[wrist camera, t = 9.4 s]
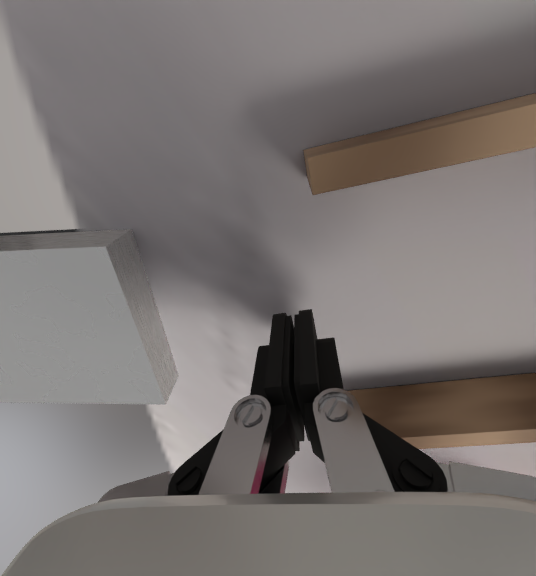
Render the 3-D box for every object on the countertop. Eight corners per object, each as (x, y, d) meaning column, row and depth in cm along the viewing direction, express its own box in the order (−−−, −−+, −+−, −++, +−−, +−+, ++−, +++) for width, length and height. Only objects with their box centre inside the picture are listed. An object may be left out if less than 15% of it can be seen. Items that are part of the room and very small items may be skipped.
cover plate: (136, 225, 13) (105, 246, 11) (181, 369, 17) (165, 404, 15) (-59, 236, 14) (-124, 256, 12) (31, 369, 18) (-4, 402, 16)
